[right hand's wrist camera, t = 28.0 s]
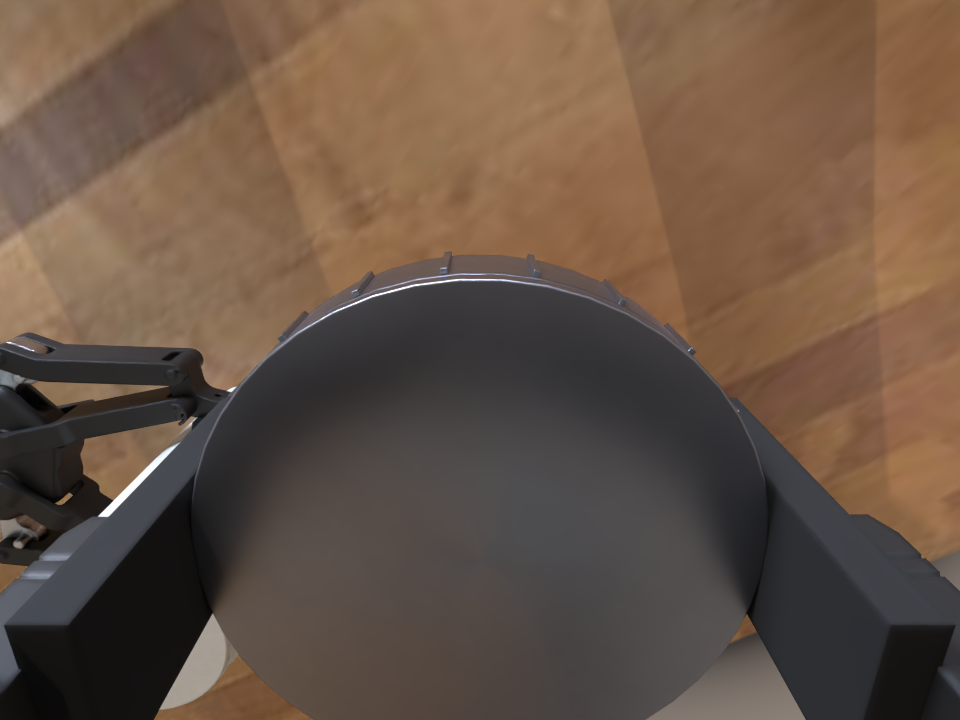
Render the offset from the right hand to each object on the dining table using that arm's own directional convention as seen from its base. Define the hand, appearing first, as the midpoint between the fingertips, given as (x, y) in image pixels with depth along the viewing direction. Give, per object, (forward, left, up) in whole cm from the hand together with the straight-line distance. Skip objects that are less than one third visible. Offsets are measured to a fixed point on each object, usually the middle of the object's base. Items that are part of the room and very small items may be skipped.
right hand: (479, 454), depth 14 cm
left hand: (+12, -13, -18) cm, 25 cm away
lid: (0, 0, +3) cm, 3 cm away
